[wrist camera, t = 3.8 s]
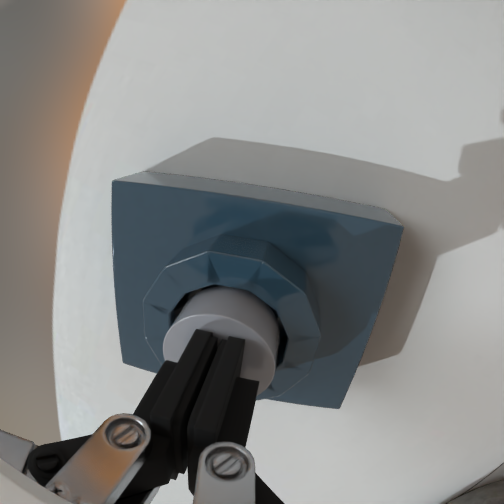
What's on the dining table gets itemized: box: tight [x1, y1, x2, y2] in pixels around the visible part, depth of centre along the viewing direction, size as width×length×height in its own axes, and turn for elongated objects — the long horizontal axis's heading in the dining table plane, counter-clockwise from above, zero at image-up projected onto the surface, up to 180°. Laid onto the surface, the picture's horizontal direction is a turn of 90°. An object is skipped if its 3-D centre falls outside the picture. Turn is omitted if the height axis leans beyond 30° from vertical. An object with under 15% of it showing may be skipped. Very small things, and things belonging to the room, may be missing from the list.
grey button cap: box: [163, 286, 280, 396], centre depth 12 cm, size 4×4×2 cm
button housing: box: [112, 171, 404, 409], centre depth 14 cm, size 12×10×5 cm
